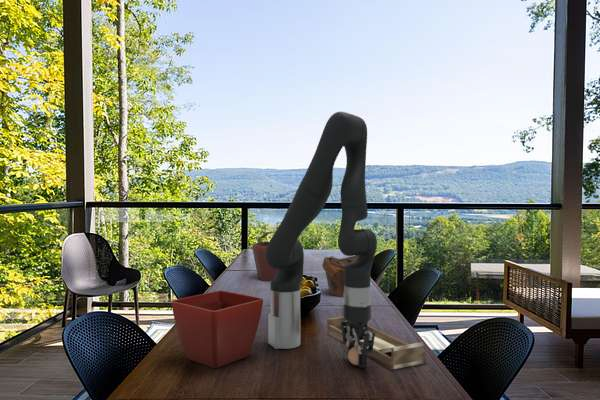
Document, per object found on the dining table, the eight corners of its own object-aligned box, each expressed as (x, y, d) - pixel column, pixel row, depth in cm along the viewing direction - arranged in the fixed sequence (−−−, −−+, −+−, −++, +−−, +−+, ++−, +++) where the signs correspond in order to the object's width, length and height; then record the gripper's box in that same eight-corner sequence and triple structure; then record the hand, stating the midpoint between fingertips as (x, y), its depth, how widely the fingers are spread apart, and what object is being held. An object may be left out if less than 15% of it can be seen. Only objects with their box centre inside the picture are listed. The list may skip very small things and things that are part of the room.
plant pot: (221, 342, 151) (220, 289, 151) (265, 356, 139) (265, 298, 138) (169, 359, 136) (169, 300, 136) (214, 376, 124) (213, 311, 124)
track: (391, 370, 128) (391, 348, 128) (327, 333, 160) (327, 315, 160) (426, 363, 133) (426, 341, 133) (358, 329, 165) (358, 311, 165)
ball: (354, 369, 129) (354, 350, 128) (344, 363, 133) (344, 345, 133) (369, 366, 131) (369, 348, 131) (359, 360, 135) (359, 342, 135)
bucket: (248, 276, 262) (247, 230, 261) (285, 273, 271) (285, 229, 270) (264, 284, 240) (263, 234, 239) (303, 280, 249) (303, 232, 248)
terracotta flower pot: (313, 293, 219) (314, 254, 218) (343, 287, 232) (344, 250, 232) (341, 301, 206) (342, 259, 205) (372, 294, 219) (372, 255, 218)
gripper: (332, 297, 136) (332, 357, 137) (359, 309, 123) (359, 375, 124) (355, 295, 139) (354, 353, 140) (384, 306, 126) (383, 370, 127)
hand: (357, 363), depth 132 cm, fingers closed on ball, 5 cm apart
